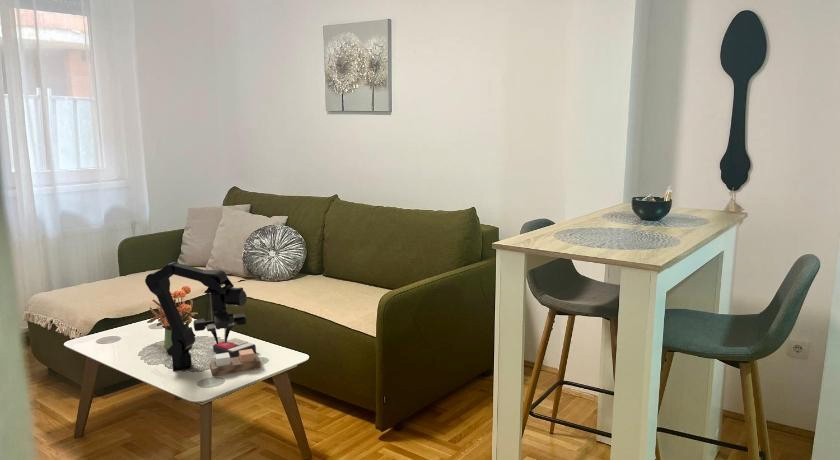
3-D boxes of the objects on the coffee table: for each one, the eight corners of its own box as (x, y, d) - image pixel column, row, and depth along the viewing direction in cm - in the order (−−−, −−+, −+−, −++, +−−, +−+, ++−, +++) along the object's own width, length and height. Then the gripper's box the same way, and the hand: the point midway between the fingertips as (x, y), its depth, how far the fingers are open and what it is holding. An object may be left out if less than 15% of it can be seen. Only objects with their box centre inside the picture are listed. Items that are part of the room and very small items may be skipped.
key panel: (212, 376, 234) (211, 369, 233) (210, 368, 241) (209, 361, 240) (260, 368, 241) (260, 360, 241) (257, 360, 248) (256, 353, 248)
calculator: (235, 336, 266) (255, 343, 256) (236, 346, 267) (256, 352, 257) (212, 343, 258) (232, 350, 248) (213, 353, 259) (233, 360, 249)
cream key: (217, 369, 236) (216, 359, 235) (215, 364, 240) (214, 354, 239) (230, 366, 238) (230, 356, 237) (228, 362, 242) (228, 352, 241)
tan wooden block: (241, 365, 239) (240, 355, 239) (239, 360, 244) (238, 350, 243) (254, 362, 241) (254, 353, 241) (252, 358, 246) (251, 348, 245)
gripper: (194, 313, 223) (197, 354, 226) (247, 306, 231) (250, 346, 234) (191, 305, 233) (195, 344, 236) (242, 298, 241) (245, 337, 244)
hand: (221, 343), depth 237 cm, fingers open, 3 cm apart
